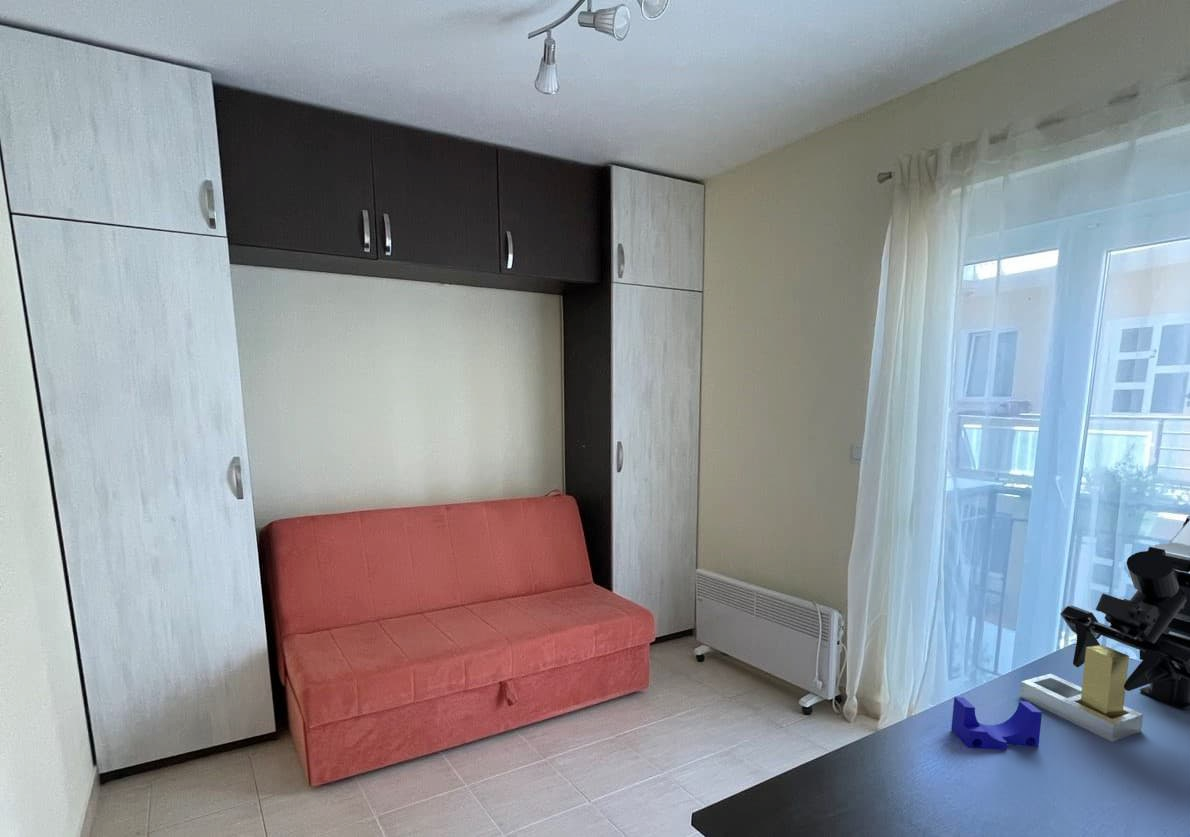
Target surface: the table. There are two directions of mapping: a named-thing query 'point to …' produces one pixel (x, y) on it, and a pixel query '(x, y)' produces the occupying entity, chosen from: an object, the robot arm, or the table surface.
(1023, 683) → the metal frame
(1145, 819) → the table surface
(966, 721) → the cable clip
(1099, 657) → the brass peg
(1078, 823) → the table surface
